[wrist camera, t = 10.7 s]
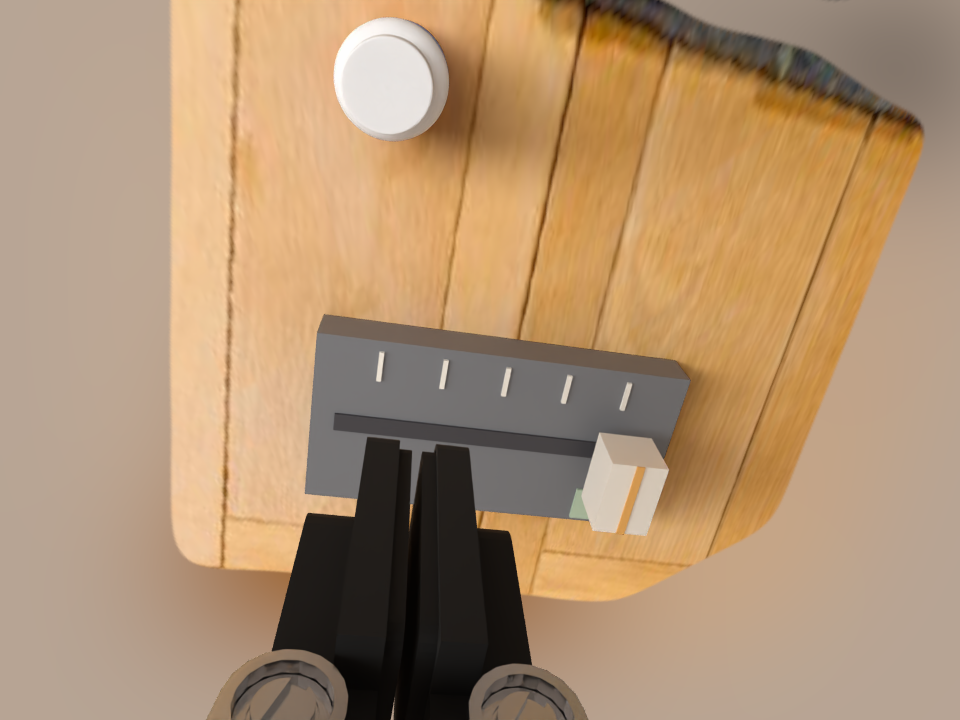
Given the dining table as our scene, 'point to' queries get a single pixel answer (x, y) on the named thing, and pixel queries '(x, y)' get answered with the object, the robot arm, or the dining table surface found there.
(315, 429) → the console
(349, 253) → the dining table surface
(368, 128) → the pill bottle
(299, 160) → the dining table surface
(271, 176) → the dining table surface
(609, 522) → the fader
